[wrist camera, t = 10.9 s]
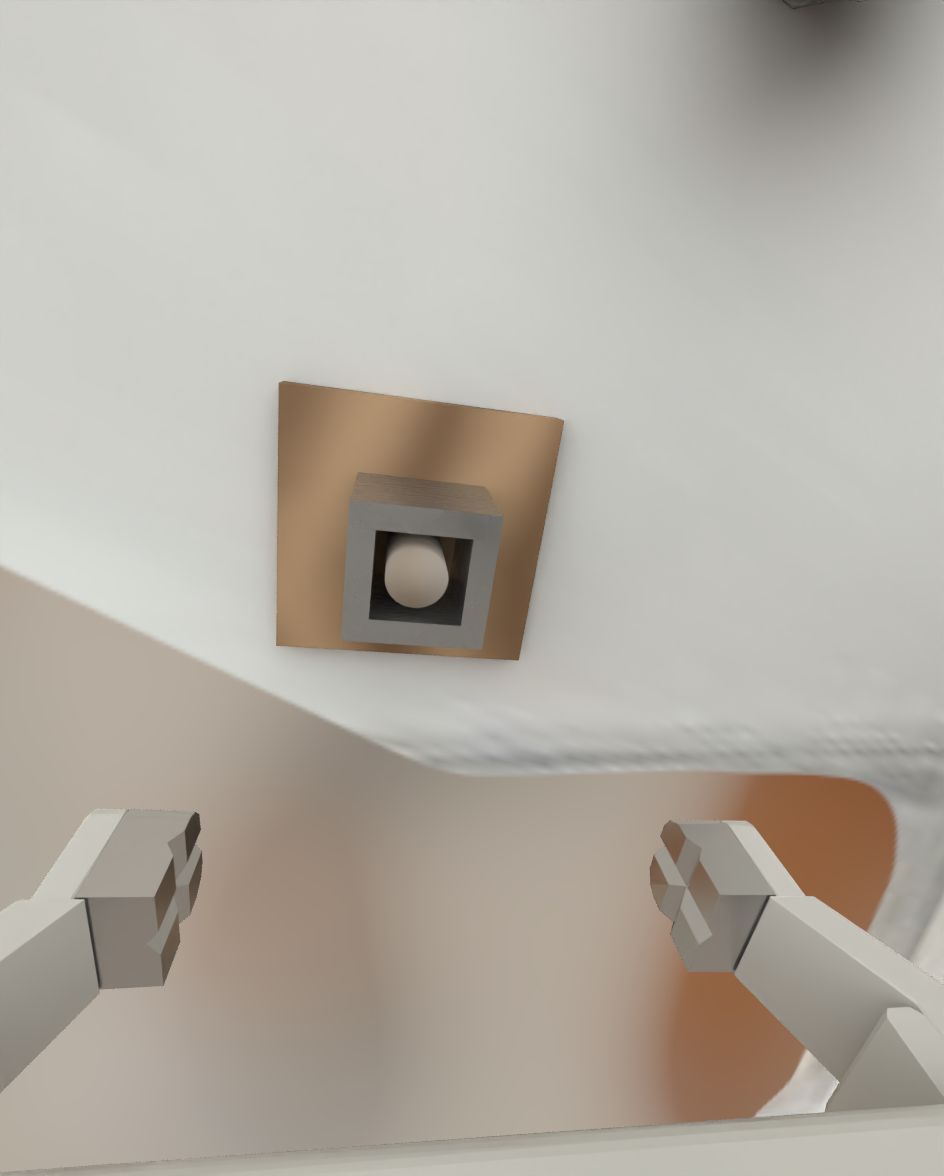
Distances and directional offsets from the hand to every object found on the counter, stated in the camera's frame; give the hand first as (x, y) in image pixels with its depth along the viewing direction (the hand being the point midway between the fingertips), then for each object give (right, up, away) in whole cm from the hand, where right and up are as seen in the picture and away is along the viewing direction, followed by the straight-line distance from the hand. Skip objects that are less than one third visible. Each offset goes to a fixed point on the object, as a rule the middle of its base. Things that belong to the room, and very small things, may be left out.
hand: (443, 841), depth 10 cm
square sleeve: (-2, +7, +16) cm, 18 cm away
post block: (-2, +7, +17) cm, 19 cm away
